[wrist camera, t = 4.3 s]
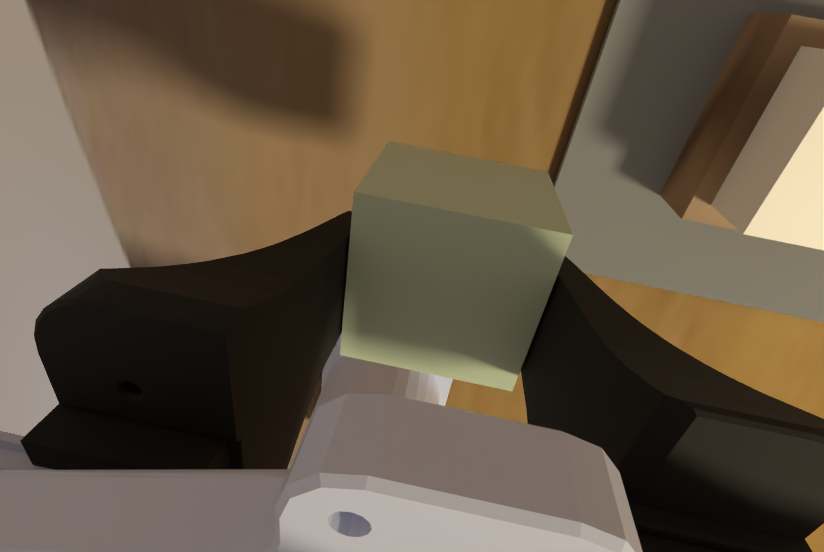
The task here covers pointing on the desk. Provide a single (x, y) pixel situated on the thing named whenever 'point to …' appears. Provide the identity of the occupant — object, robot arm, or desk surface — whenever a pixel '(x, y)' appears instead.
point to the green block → (450, 264)
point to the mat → (670, 162)
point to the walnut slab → (736, 110)
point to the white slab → (783, 162)
